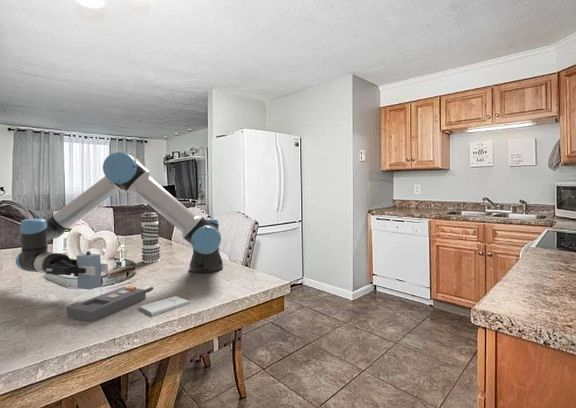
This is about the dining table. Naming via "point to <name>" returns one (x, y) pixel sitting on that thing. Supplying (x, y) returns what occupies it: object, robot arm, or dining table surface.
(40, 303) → the dining table surface
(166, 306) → the external hard drive
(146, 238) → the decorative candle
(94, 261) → the block
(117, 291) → the power strip
